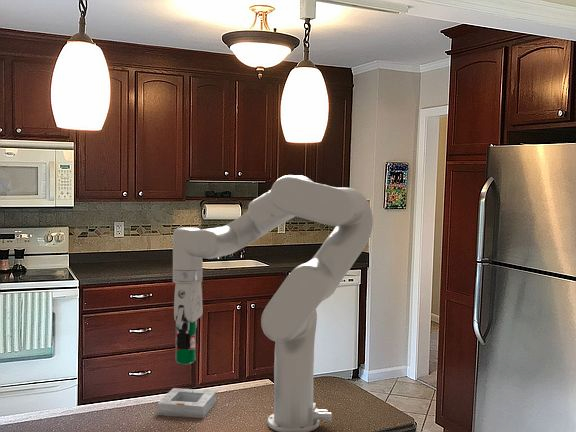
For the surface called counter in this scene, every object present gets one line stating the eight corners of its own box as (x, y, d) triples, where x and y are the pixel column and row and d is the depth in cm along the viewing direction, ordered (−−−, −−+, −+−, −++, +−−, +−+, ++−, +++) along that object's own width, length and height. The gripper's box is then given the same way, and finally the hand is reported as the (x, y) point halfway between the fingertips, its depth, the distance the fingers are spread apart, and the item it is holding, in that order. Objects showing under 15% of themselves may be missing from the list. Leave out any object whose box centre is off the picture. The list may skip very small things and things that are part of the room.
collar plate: (216, 401, 167) (216, 389, 167) (203, 418, 155) (203, 405, 155) (173, 399, 169) (173, 387, 168) (157, 415, 157) (157, 402, 157)
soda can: (191, 365, 158) (191, 318, 158) (172, 364, 159) (172, 317, 159) (198, 360, 163) (198, 314, 163) (179, 358, 164) (180, 313, 164)
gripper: (191, 281, 151) (191, 355, 152) (210, 271, 168) (210, 338, 169) (161, 280, 152) (161, 354, 153) (184, 270, 169) (183, 337, 170)
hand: (187, 345), depth 161 cm, fingers closed on soda can, 5 cm apart
